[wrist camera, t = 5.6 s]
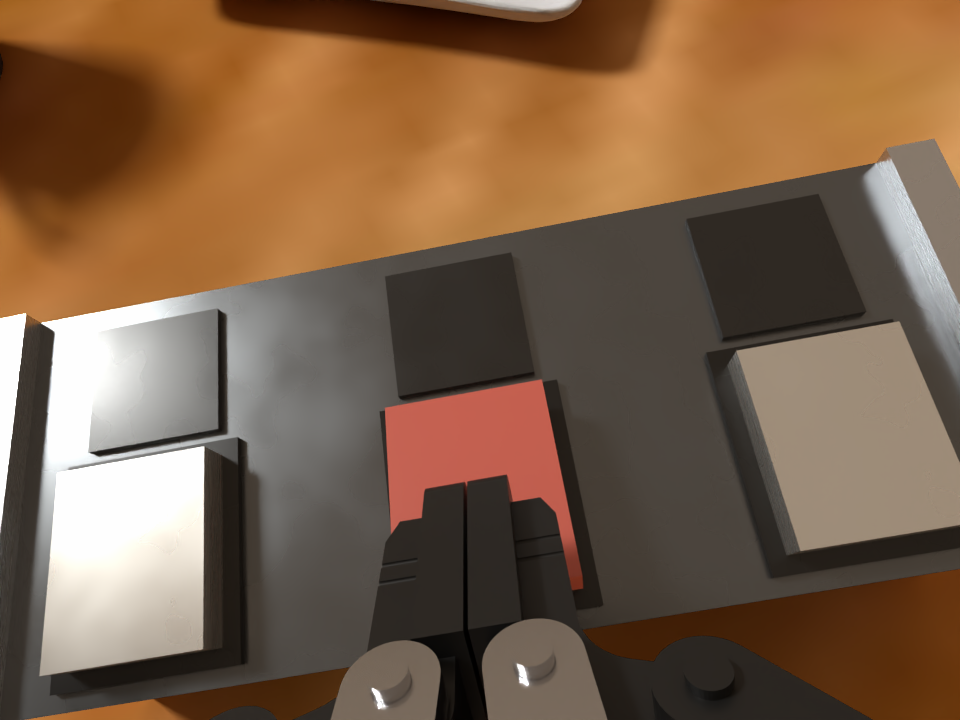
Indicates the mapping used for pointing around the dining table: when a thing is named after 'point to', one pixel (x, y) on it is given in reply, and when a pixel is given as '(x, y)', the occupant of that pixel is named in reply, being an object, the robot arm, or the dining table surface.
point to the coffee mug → (1, 65)
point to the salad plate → (503, 8)
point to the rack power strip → (474, 367)
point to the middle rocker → (478, 452)
